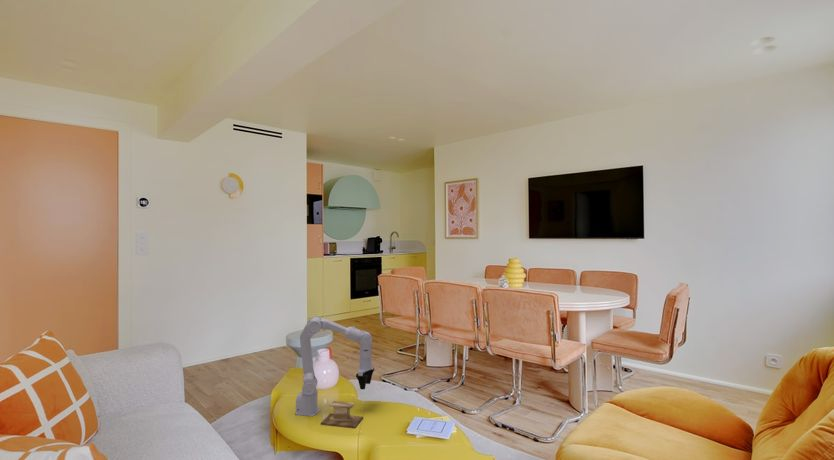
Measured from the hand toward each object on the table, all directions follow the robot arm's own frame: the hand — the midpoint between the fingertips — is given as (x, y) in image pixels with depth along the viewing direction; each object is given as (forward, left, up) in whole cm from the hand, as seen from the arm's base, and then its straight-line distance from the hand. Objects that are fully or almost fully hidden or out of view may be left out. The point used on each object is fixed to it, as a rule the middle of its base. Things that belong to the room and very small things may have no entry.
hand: (365, 386), depth 191 cm
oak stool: (-5, -16, -10) cm, 19 cm away
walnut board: (-5, -16, -10) cm, 20 cm away
